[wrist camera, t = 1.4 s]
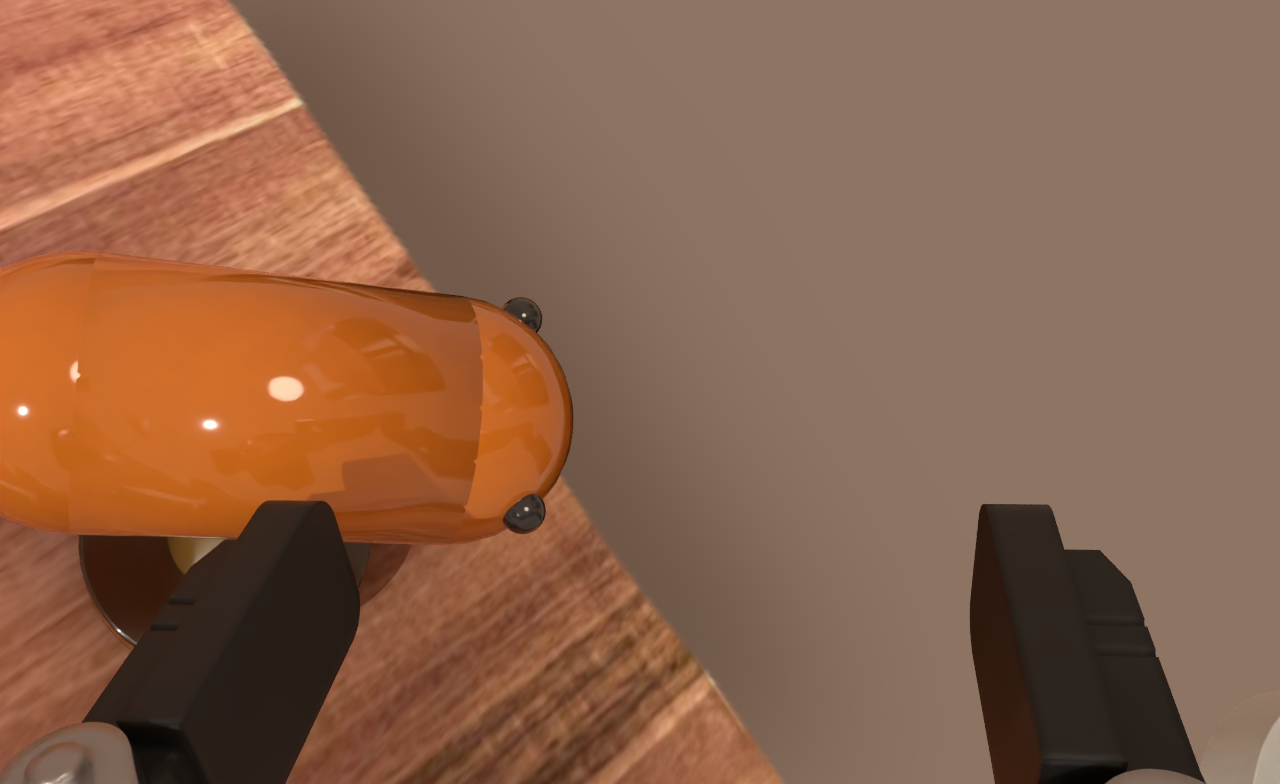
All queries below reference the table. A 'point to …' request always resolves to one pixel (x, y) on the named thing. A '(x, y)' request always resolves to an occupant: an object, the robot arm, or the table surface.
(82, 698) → the table surface
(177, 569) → the goldfish figurine
